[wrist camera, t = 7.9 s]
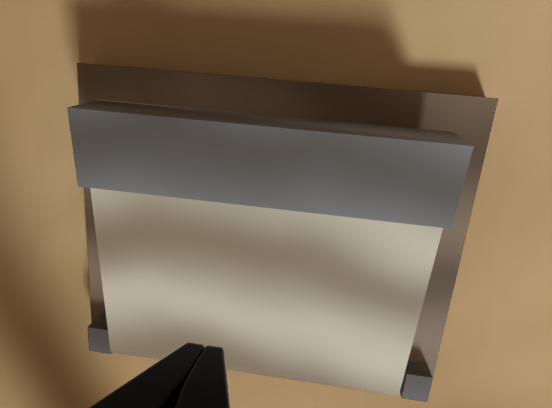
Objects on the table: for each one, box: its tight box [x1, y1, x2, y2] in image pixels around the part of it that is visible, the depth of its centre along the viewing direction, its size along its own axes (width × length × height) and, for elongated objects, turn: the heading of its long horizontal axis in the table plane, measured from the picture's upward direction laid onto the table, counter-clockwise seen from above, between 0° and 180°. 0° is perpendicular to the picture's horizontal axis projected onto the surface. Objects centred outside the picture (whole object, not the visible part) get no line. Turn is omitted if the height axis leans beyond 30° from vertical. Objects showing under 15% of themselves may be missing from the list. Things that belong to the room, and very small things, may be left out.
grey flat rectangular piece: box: [67, 100, 474, 396], centre depth 16 cm, size 12×14×2 cm
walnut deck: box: [77, 63, 498, 402], centre depth 18 cm, size 14×18×2 cm
